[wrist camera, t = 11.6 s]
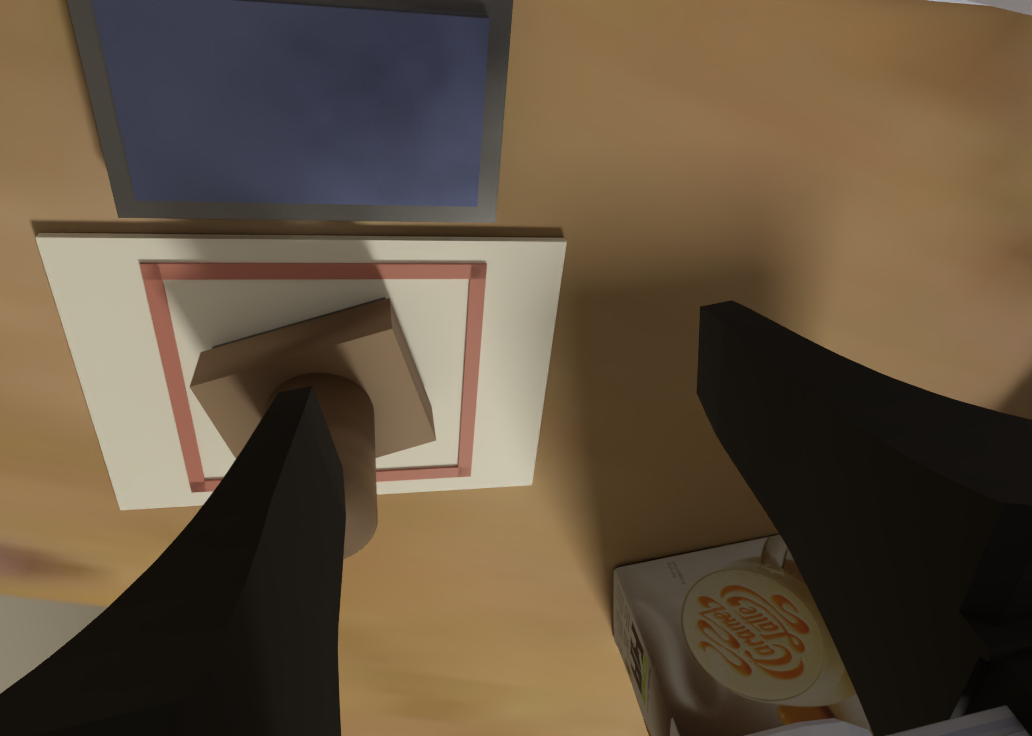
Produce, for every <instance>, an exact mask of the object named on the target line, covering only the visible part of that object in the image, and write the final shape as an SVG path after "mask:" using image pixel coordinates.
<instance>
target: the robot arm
mask: <svg viewBox="0 0 1032 736" xmlns="http://www.w3.org/2000/svg"><path fill="white" fill-rule="evenodd" d="M929 1H941V2H952V3H964V4H975V5H987V6H993V7H998V8H1002V9H1006V10H1011V11H1015V12H1019V13H1024V14H1028V15H1032V0H929ZM697 395H698V397H699V399H700V401H701V404H702V406H703V408H704V410H705V413H706V415H707V417H708V419H709V421H710V423H711V425H712V427H713V430H714V432H715V434H716V436H717V437H718V439H719V441H720V442H721V444H722V445H723V447H724V449H725V450H726V452H727V453H728V455H729V456H730V458H731V459H732V461H733V463H734V464H735V466H736V467H737V469H738V470H739V472H740V473H741V475H742V476H743V478H744V480H745V481H746V483H747V484H748V486H749V487H750V489H751V490H752V492H753V493H754V495H755V496H756V498H757V499H758V501H759V502H760V504H761V505H762V507H763V509H764V510H765V512H766V513H767V515H768V516H769V518H770V519H771V521H772V522H773V524H774V525H775V527H776V529H777V530H778V532H779V534H780V535H781V537H782V539H783V541H784V542H785V544H786V546H787V547H788V549H789V551H790V553H791V555H792V557H793V559H794V561H795V563H796V565H797V567H798V569H799V571H800V573H801V575H802V577H803V579H804V581H805V583H806V585H807V587H808V589H809V591H810V593H811V595H812V597H813V599H814V601H815V604H816V606H817V608H818V610H819V612H820V614H821V616H822V618H823V620H824V622H825V625H826V627H827V629H828V631H829V633H830V635H831V637H832V639H833V642H834V644H835V646H836V648H837V651H838V653H839V655H840V657H841V660H842V662H843V664H844V666H845V669H846V671H847V673H848V675H849V678H850V680H851V682H852V685H853V687H854V689H855V691H856V694H857V696H858V698H859V701H860V703H861V706H862V708H863V711H864V713H865V716H866V718H867V720H868V723H869V725H870V728H871V730H872V733H873V735H874V736H1032V420H1030V419H1026V418H1021V417H1017V416H1013V415H1009V414H1005V413H1001V412H997V411H993V410H990V409H986V408H983V407H979V406H976V405H972V404H968V403H965V402H961V401H958V400H955V399H951V398H948V397H945V396H942V395H939V394H936V393H933V392H930V391H927V390H924V389H922V388H919V387H916V386H913V385H910V384H908V383H905V382H902V381H899V380H897V379H894V378H891V377H889V376H886V375H884V374H881V373H879V372H877V371H874V370H872V369H870V368H868V367H865V366H863V365H861V364H858V363H856V362H854V361H852V360H849V359H847V358H845V357H843V356H841V355H839V354H836V353H834V352H832V351H830V350H828V349H826V348H824V347H822V346H820V345H818V344H816V343H814V342H812V341H810V340H808V339H806V338H804V337H802V336H800V335H798V334H796V333H795V332H793V331H791V330H789V329H787V328H785V327H783V326H781V325H779V324H777V323H776V322H774V321H772V320H770V319H768V318H766V317H764V316H762V315H760V314H759V313H757V312H755V311H753V310H751V309H749V308H747V307H745V306H743V305H741V304H739V303H736V302H734V301H732V300H731V301H726V302H722V303H717V304H712V305H707V306H702V307H700V326H699V350H698V375H697ZM345 526H346V507H345V490H344V476H343V467H342V464H341V461H340V459H339V456H338V453H337V451H336V448H335V445H334V442H333V440H332V437H331V434H330V432H329V429H328V426H327V423H326V421H325V418H324V415H323V413H322V410H321V407H320V404H319V402H318V399H317V396H316V394H315V391H314V388H313V386H308V387H303V388H298V389H294V390H289V391H284V392H279V393H278V394H277V395H276V397H275V398H274V400H273V401H272V403H271V404H270V406H269V408H268V409H267V411H266V412H265V414H264V416H263V417H262V419H261V420H260V422H259V424H258V425H257V427H256V429H255V430H254V432H253V433H252V435H251V437H250V438H249V440H248V441H247V443H246V444H245V446H244V448H243V449H242V451H241V452H240V454H239V455H238V457H237V458H236V460H235V461H234V463H233V464H232V466H231V467H230V469H229V470H228V472H227V473H226V475H225V476H224V477H223V479H222V480H221V482H220V483H219V485H218V486H217V487H216V489H215V490H214V491H213V493H212V494H211V495H210V497H209V498H208V499H207V501H206V502H205V503H204V505H203V506H202V507H201V509H200V510H199V511H198V513H197V514H196V515H195V517H194V518H193V519H192V520H191V521H190V523H189V524H188V525H187V526H186V527H185V529H184V530H183V531H182V532H181V533H180V534H179V536H178V537H177V538H176V539H175V540H174V541H173V542H172V543H171V545H170V546H169V547H168V548H167V549H166V550H165V551H164V552H163V553H162V554H161V556H160V557H159V558H158V559H157V560H156V561H155V562H154V563H153V564H152V565H151V566H150V567H149V568H148V569H147V570H146V571H145V572H144V573H143V574H142V575H141V576H140V577H139V578H138V579H137V580H136V581H135V582H134V583H133V584H132V585H131V586H130V587H129V588H128V589H127V590H125V591H124V592H123V593H122V594H121V595H120V596H119V597H118V598H117V599H116V600H115V601H114V602H113V603H112V604H111V605H110V606H109V607H108V608H107V609H106V610H105V611H103V613H101V614H100V615H99V616H98V617H97V618H95V619H94V620H93V621H92V622H91V623H90V624H89V625H87V626H86V627H85V628H84V629H83V630H82V631H81V632H79V633H78V634H77V635H76V636H75V637H73V638H72V639H71V640H70V641H68V642H67V643H66V644H65V645H64V646H62V647H61V648H60V649H59V650H58V651H56V652H55V653H54V654H53V655H51V656H50V657H49V658H48V659H46V660H45V661H44V662H42V663H41V664H40V665H39V666H37V667H36V668H35V669H34V670H32V671H31V672H29V673H28V674H27V675H25V676H24V677H23V678H21V679H20V680H19V681H17V682H16V683H14V684H13V685H12V686H10V687H9V688H8V689H6V690H5V691H4V692H3V693H1V694H0V736H341V723H340V703H339V675H338V623H339V610H340V596H341V583H342V569H343V556H344V541H345ZM745 736H872V735H871V733H870V731H869V730H868V729H865V728H862V727H859V726H856V725H853V724H850V723H847V722H844V721H841V720H838V719H835V718H831V719H822V720H813V721H804V722H797V723H793V724H789V725H785V726H781V727H777V728H773V729H769V730H765V731H761V732H757V733H753V734H749V735H745Z"/></svg>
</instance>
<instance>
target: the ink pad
mask: <svg viewBox="0 0 1032 736" xmlns="http://www.w3.org/2000/svg"><path fill="white" fill-rule="evenodd" d="M67 3H68V7H69V11H70V15H71V20H72V24H73V28H74V32H75V36H76V41H77V45H78V49H79V53H80V58H81V62H82V66H83V70H84V74H85V79H86V83H87V87H88V91H89V96H90V100H91V104H92V108H93V113H94V117H95V121H96V125H97V129H98V134H99V138H100V142H101V146H102V151H103V155H104V159H105V163H106V167H107V172H108V176H109V180H110V184H111V189H112V193H113V197H114V201H115V205H116V210H117V214H118V218H184V219H257V220H331V221H405V222H478V223H495V219H496V207H497V194H498V182H499V169H500V157H501V145H502V132H503V120H504V107H505V95H506V83H507V70H508V58H509V46H510V33H511V21H512V8H513V0H67Z"/></svg>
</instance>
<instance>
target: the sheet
mask: <svg viewBox="0 0 1032 736" xmlns="http://www.w3.org/2000/svg"><path fill="white" fill-rule="evenodd" d="M35 238H36V241H37V244H38V248H39V251H40V254H41V257H42V260H43V264H44V267H45V270H46V273H47V276H48V280H49V283H50V286H51V289H52V292H53V296H54V299H55V302H56V305H57V309H58V312H59V315H60V318H61V321H62V325H63V328H64V331H65V334H66V337H67V341H68V344H69V347H70V350H71V353H72V357H73V360H74V363H75V366H76V369H77V373H78V376H79V379H80V382H81V386H82V389H83V392H84V395H85V398H86V402H87V405H88V408H89V411H90V414H91V418H92V421H93V424H94V427H95V430H96V434H97V437H98V440H99V443H100V446H101V450H102V453H103V456H104V459H105V463H106V466H107V469H108V472H109V475H110V479H111V482H112V485H113V488H114V491H115V495H116V498H117V501H118V504H119V507H120V510H132V509H148V508H165V507H181V506H197V505H204V503H205V502H206V501H207V499H208V498H209V497H210V495H211V494H212V493H213V491H214V490H215V489H216V487H217V486H218V485H219V483H220V482H221V480H222V479H223V477H224V476H225V475H226V473H227V472H228V470H229V469H230V467H231V466H232V464H233V463H234V461H235V460H236V458H235V457H234V455H233V454H232V452H231V451H230V449H229V448H228V446H227V445H226V443H225V441H224V440H223V438H222V437H221V435H220V434H219V432H218V431H217V429H216V427H215V426H214V424H213V423H212V421H211V420H210V418H209V417H208V415H207V414H206V412H205V410H204V409H203V407H202V406H201V404H200V403H199V401H198V400H197V398H196V396H195V395H194V393H193V392H192V390H191V389H190V384H191V381H192V378H193V374H194V371H195V368H196V365H197V362H198V359H199V355H200V352H203V351H206V350H210V349H212V347H213V346H216V345H220V344H223V343H227V342H230V341H234V340H237V339H241V338H244V337H248V336H251V335H255V334H258V333H262V332H265V331H269V330H272V329H275V328H279V327H282V326H286V325H289V324H293V323H296V322H300V321H303V320H307V319H310V318H314V317H317V316H321V315H324V314H328V313H331V312H335V311H338V310H342V309H345V308H349V307H352V306H355V305H359V304H362V303H366V302H369V301H373V300H376V299H380V298H383V297H385V298H386V299H387V298H390V300H391V302H392V305H393V307H394V310H395V313H396V315H397V318H398V320H399V323H400V326H401V328H402V331H403V333H404V336H405V339H406V341H407V344H408V346H409V349H410V352H411V354H412V357H413V359H414V362H415V364H416V367H417V370H418V372H419V375H420V377H421V380H422V383H423V385H424V388H425V390H426V393H427V396H428V398H429V401H430V403H431V406H432V413H433V420H434V427H435V435H436V441H433V442H429V443H426V444H422V445H419V446H416V447H412V448H409V449H405V450H402V451H398V452H395V453H392V454H388V455H385V456H381V457H378V458H376V486H377V494H393V493H410V492H426V491H443V490H459V489H475V488H492V487H508V486H524V485H532V481H533V474H534V467H535V460H536V453H537V446H538V439H539V432H540V425H541V418H542V411H543V404H544V397H545V390H546V383H547V376H548V369H549V362H550V355H551V348H552V341H553V334H554V327H555V320H556V313H557V306H558V299H559V292H560V285H561V278H562V271H563V264H564V257H565V250H566V244H567V241H566V240H565V238H533V237H428V236H323V235H217V234H112V233H39V234H38V235H37V236H36V237H35Z"/></svg>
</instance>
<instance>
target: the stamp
mask: <svg viewBox="0 0 1032 736" xmlns="http://www.w3.org/2000/svg"><path fill="white" fill-rule="evenodd" d="M308 386H313V388H314V391H315V394H316V396H317V399H318V402H319V404H320V407H321V410H322V413H323V415H324V418H325V421H326V423H327V426H328V429H329V432H330V434H331V437H332V440H333V442H334V445H335V448H336V451H337V453H338V456H339V459H340V461H341V464H342V467H343V476H344V490H345V507H346V526H345V541H344V556H343V559H345V558H347V557H349V556H351V555H353V554H355V553H356V552H358V551H359V550H361V549H362V548H363V547H364V546H365V545H366V544H367V543H368V542H369V541H370V540H371V538H372V537H373V535H374V533H375V530H376V528H377V486H376V458H378V457H381V456H385V455H388V454H392V453H395V452H398V451H402V450H405V449H409V448H412V447H416V446H419V445H422V444H426V443H429V442H433V441H436V435H435V427H434V420H433V413H432V406H431V403H430V401H429V398H428V396H427V393H426V390H425V388H424V385H423V383H422V380H421V377H420V375H419V372H418V370H417V367H416V364H415V362H414V359H413V357H412V354H411V352H410V349H409V346H408V344H407V341H406V339H405V336H404V333H403V331H402V328H401V326H400V323H399V320H398V318H397V315H396V313H395V310H394V307H393V305H392V302H391V300H390V298H387V299H386V298H385V297H383V298H380V299H376V300H373V301H369V302H366V303H362V304H359V305H355V306H352V307H349V308H345V309H342V310H338V311H335V312H331V313H328V314H324V315H321V316H317V317H314V318H310V319H307V320H303V321H300V322H296V323H293V324H289V325H286V326H282V327H279V328H275V329H272V330H269V331H265V332H262V333H258V334H255V335H251V336H248V337H244V338H241V339H237V340H234V341H230V342H227V343H223V344H220V345H216V346H213V347H212V349H210V350H206V351H203V352H200V355H199V359H198V362H197V365H196V368H195V371H194V374H193V378H192V381H191V384H190V389H191V390H192V392H193V393H194V395H195V396H196V398H197V400H198V401H199V403H200V404H201V406H202V407H203V409H204V410H205V412H206V414H207V415H208V417H209V418H210V420H211V421H212V423H213V424H214V426H215V427H216V429H217V431H218V432H219V434H220V435H221V437H222V438H223V440H224V441H225V443H226V445H227V446H228V448H229V449H230V451H231V452H232V454H233V455H234V457H235V458H237V457H238V455H239V454H240V452H241V451H242V449H243V448H244V446H245V444H246V443H247V441H248V440H249V438H250V437H251V435H252V433H253V432H254V430H255V429H256V427H257V425H258V424H259V422H260V420H261V419H262V417H263V416H264V414H265V412H266V411H267V409H268V408H269V406H270V404H271V403H272V401H273V400H274V398H275V397H276V395H277V394H278V393H279V392H284V391H289V390H294V389H298V388H303V387H308Z"/></svg>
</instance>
